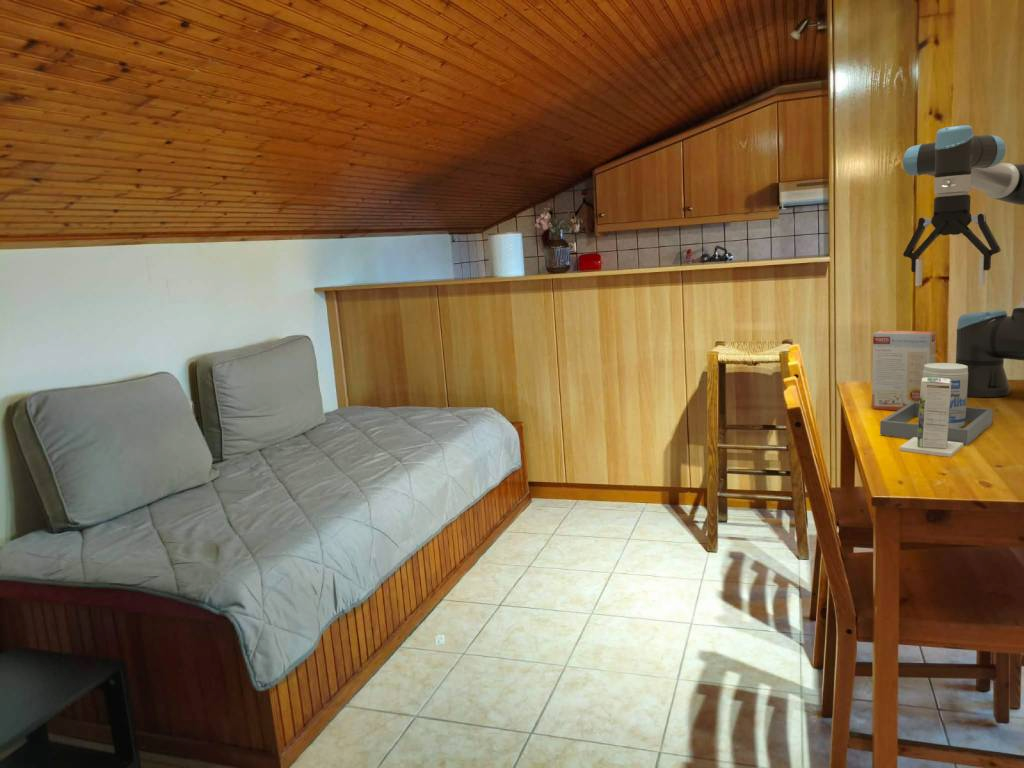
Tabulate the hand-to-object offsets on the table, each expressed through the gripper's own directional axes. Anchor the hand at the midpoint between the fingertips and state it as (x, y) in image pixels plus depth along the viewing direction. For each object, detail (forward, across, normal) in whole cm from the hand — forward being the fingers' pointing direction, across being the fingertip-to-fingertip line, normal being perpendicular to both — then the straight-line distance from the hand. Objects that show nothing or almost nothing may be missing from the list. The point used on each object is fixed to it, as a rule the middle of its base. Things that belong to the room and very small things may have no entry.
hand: (949, 285), depth 185 cm
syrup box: (+32, +4, -29) cm, 44 cm away
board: (+33, +4, -30) cm, 44 cm away
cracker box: (+34, -12, +7) cm, 36 cm away
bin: (+33, +1, -11) cm, 35 cm away
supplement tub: (+34, +1, -6) cm, 34 cm away
